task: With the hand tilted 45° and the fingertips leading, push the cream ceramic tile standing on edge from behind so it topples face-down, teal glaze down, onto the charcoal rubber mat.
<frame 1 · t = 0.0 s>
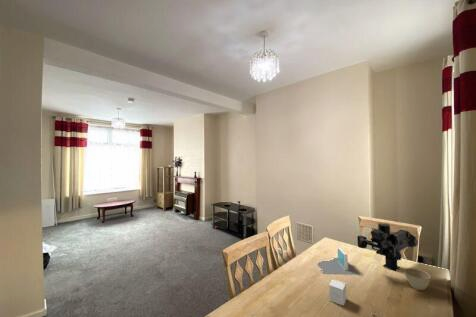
hand: (367, 249, 109), 17 cm above the table, tool horizontal, fingers open, 9 cm apart
mat: (334, 266, 124), on the table
cream bowl: (417, 287, 102), on the table
tile: (342, 265, 124), resting on mat
product box: (338, 300, 94), on the table
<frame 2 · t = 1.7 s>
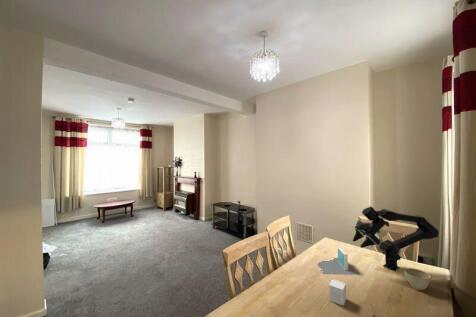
hand: (356, 244, 123), 14 cm above the table, tool tilted 45°, fingers open, 9 cm apart
nothing on the table moved.
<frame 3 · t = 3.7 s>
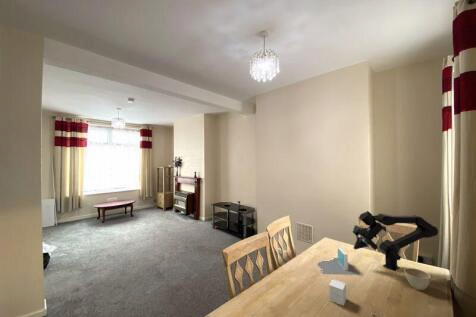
hand: (354, 248, 123), 11 cm above the table, tool tilted 45°, fingers closed
nothing on the table moved.
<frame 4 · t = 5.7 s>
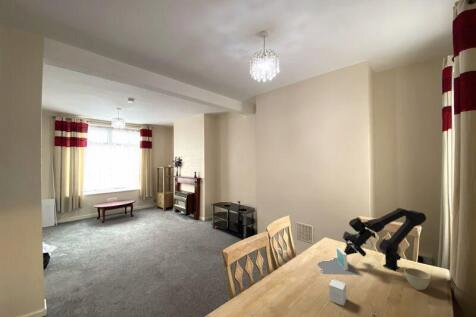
hand: (343, 254, 124), 7 cm above the table, tool tilted 45°, fingers closed, pressing on tile
tile: (342, 265, 124), resting on mat, touching gripper
everything else where it was.
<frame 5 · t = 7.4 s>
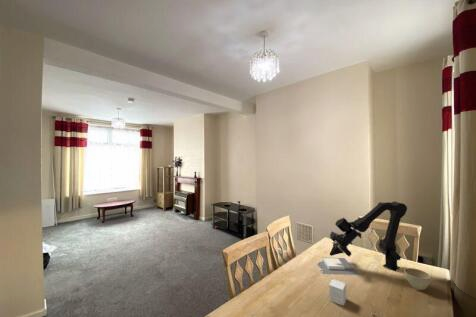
hand: (330, 254, 125), 7 cm above the table, tool tilted 45°, fingers closed
tile: (341, 263, 124), point 1 cm above the table, tilted 90°, touching mat
everything else where it was.
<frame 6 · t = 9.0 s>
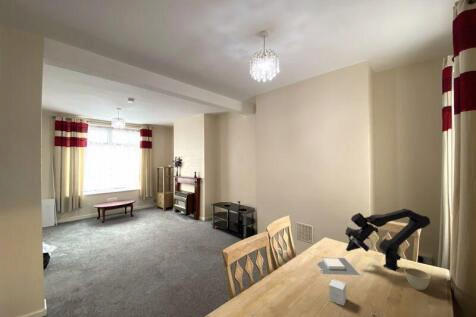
hand: (346, 250, 124), 9 cm above the table, tool tilted 45°, fingers closed
nothing on the table moved.
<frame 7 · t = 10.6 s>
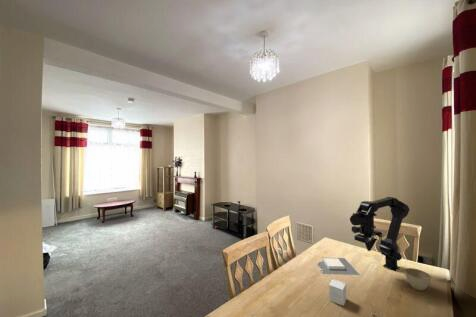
hand: (368, 250, 117), 12 cm above the table, tool pointing down, fingers closed
nothing on the table moved.
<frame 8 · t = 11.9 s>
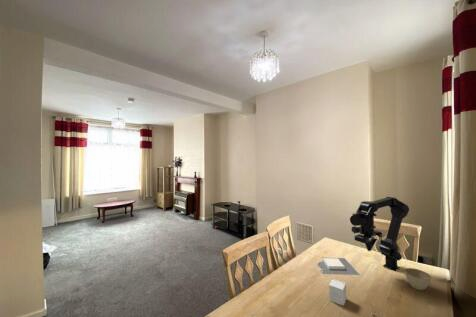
hand: (369, 251, 117), 12 cm above the table, tool pointing down, fingers closed
nothing on the table moved.
at the end: tile tilted 90°; tile inside the target area on the mat (3.9 cm from its centre), point 1.5 cm above the mat's base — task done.
